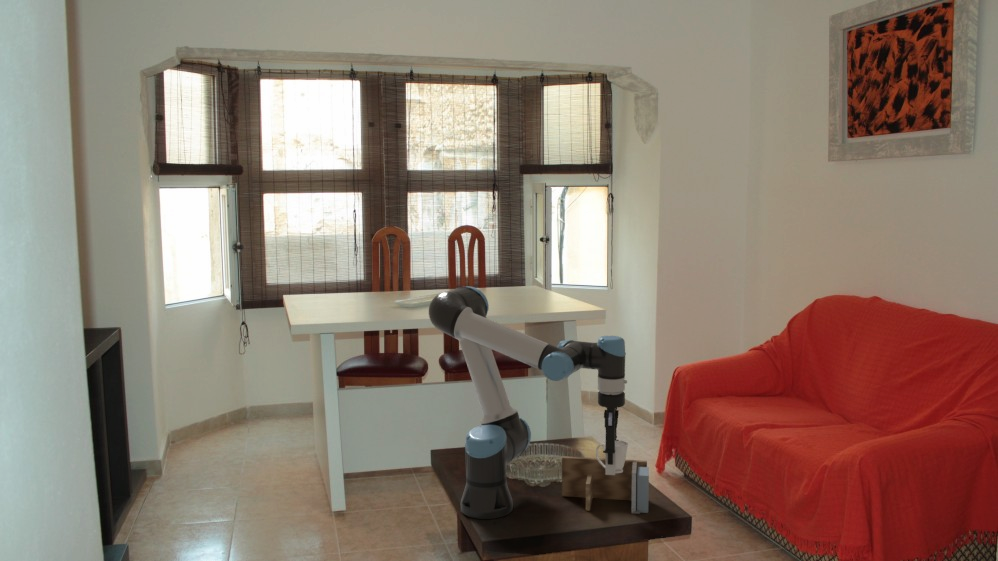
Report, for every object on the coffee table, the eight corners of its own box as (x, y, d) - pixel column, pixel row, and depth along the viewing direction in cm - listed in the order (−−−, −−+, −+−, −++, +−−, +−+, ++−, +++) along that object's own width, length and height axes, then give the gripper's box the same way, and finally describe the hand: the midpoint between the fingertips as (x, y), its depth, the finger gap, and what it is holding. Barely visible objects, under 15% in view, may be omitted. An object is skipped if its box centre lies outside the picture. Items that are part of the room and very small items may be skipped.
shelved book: (636, 512, 236) (637, 475, 235) (637, 502, 243) (637, 466, 242) (648, 512, 236) (648, 475, 234) (648, 503, 243) (648, 467, 241)
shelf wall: (562, 496, 249) (562, 457, 247) (562, 494, 250) (562, 456, 248) (646, 501, 244) (646, 462, 242) (646, 499, 245) (647, 460, 244)
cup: (619, 476, 230) (620, 447, 229) (589, 469, 236) (589, 441, 236) (632, 470, 235) (633, 442, 235) (602, 464, 242) (603, 437, 241)
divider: (585, 510, 238) (585, 483, 237) (588, 499, 246) (588, 473, 245) (589, 510, 238) (590, 483, 237) (592, 499, 246) (592, 473, 245)
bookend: (631, 513, 236) (631, 472, 234) (632, 500, 244) (632, 461, 243) (639, 513, 235) (640, 473, 234) (640, 501, 244) (641, 462, 242)
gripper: (623, 401, 222) (622, 483, 225) (626, 383, 241) (625, 459, 244) (595, 400, 224) (595, 481, 227) (600, 382, 243) (600, 457, 246)
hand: (611, 469), depth 236 cm, fingers closed on cup, 6 cm apart
